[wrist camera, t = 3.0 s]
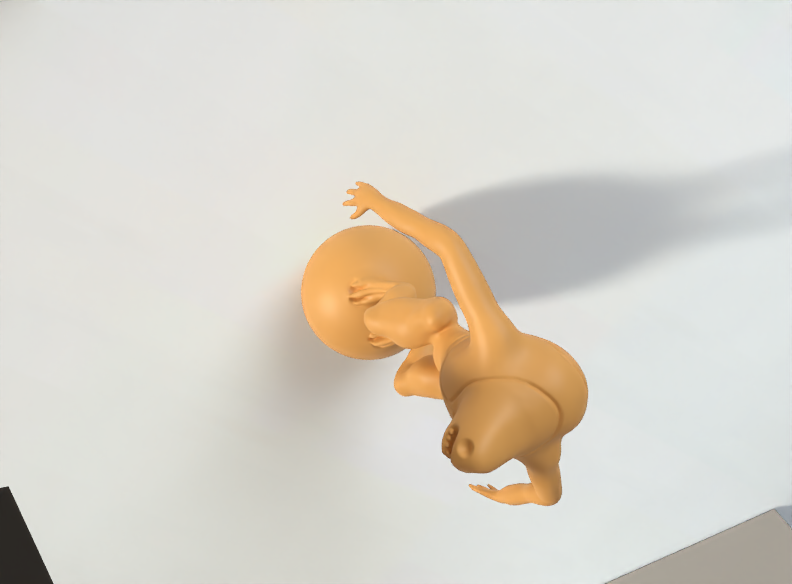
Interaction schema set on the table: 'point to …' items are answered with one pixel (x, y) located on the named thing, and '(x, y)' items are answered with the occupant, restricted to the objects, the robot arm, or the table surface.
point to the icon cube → (727, 557)
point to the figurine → (447, 344)
